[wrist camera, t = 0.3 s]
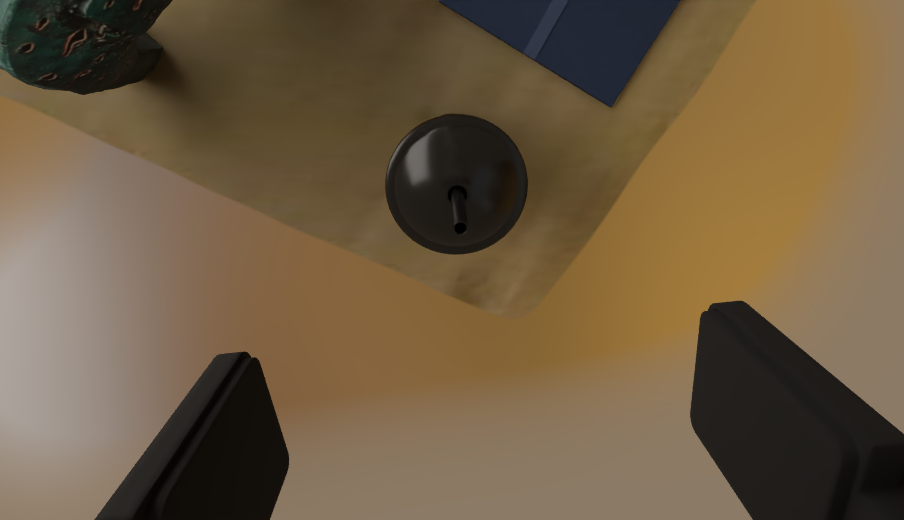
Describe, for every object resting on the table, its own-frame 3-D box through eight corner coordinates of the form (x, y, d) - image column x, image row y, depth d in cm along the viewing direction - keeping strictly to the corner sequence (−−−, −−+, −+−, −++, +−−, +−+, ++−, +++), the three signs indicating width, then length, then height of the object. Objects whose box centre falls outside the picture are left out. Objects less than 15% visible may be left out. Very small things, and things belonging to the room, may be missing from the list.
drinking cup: (517, 118, 38) (586, 180, 20) (476, 206, 41) (503, 332, 22) (425, 77, 37) (408, 101, 18) (389, 170, 39) (343, 272, 21)
